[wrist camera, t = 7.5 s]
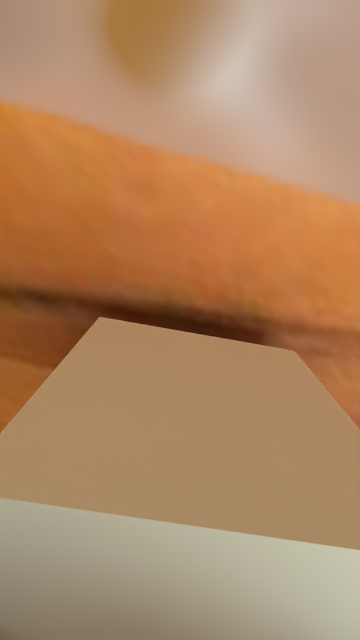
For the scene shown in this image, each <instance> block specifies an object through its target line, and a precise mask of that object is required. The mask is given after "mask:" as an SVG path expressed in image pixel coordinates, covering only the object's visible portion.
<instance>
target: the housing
mask: <svg viewBox="0 0 360 640" xmlns="http://www.w3.org/2000/svg"><path fill="white" fill-rule="evenodd" d="M0 640H360V429H359V428H358V427H357V426H356V424H355V423H354V422H353V421H352V420H351V418H350V417H349V416H348V415H347V413H346V412H345V411H344V410H343V409H342V407H341V406H340V405H339V404H338V403H337V401H336V400H335V399H334V398H333V396H332V395H331V394H330V393H329V392H328V390H327V389H326V388H325V387H324V386H323V384H322V383H321V382H320V381H319V379H318V378H317V377H316V376H315V375H314V373H313V372H312V371H311V370H310V369H309V367H308V366H307V365H306V364H305V362H304V361H303V360H302V359H301V358H300V356H299V355H298V354H297V353H296V352H295V351H293V350H287V349H282V348H276V347H270V346H264V345H259V344H253V343H247V342H241V341H236V340H230V339H224V338H218V337H213V336H207V335H201V334H196V333H190V332H184V331H178V330H173V329H167V328H161V327H155V326H150V325H144V324H138V323H132V322H127V321H121V320H115V319H109V318H104V317H99V318H98V319H97V320H96V322H95V323H94V324H93V325H92V326H91V327H90V329H89V330H88V331H87V332H86V333H85V334H84V336H83V337H82V338H81V339H80V340H79V341H78V343H77V344H76V345H75V346H74V347H73V348H72V350H71V351H70V352H69V353H68V354H67V356H66V357H65V358H64V359H63V360H62V361H61V363H60V364H59V365H58V366H57V367H56V368H55V370H54V371H53V372H52V373H51V374H50V375H49V377H48V378H47V379H46V380H45V381H44V382H43V384H42V385H41V386H40V387H39V388H38V389H37V391H36V392H35V393H34V394H33V395H32V396H31V398H30V399H29V400H28V401H27V402H26V403H25V405H24V406H23V407H22V408H21V409H20V411H19V412H18V413H17V414H16V415H15V416H14V418H13V419H12V420H11V421H10V422H9V423H8V425H7V426H6V427H5V428H4V429H3V430H2V432H1V433H0Z"/></svg>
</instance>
